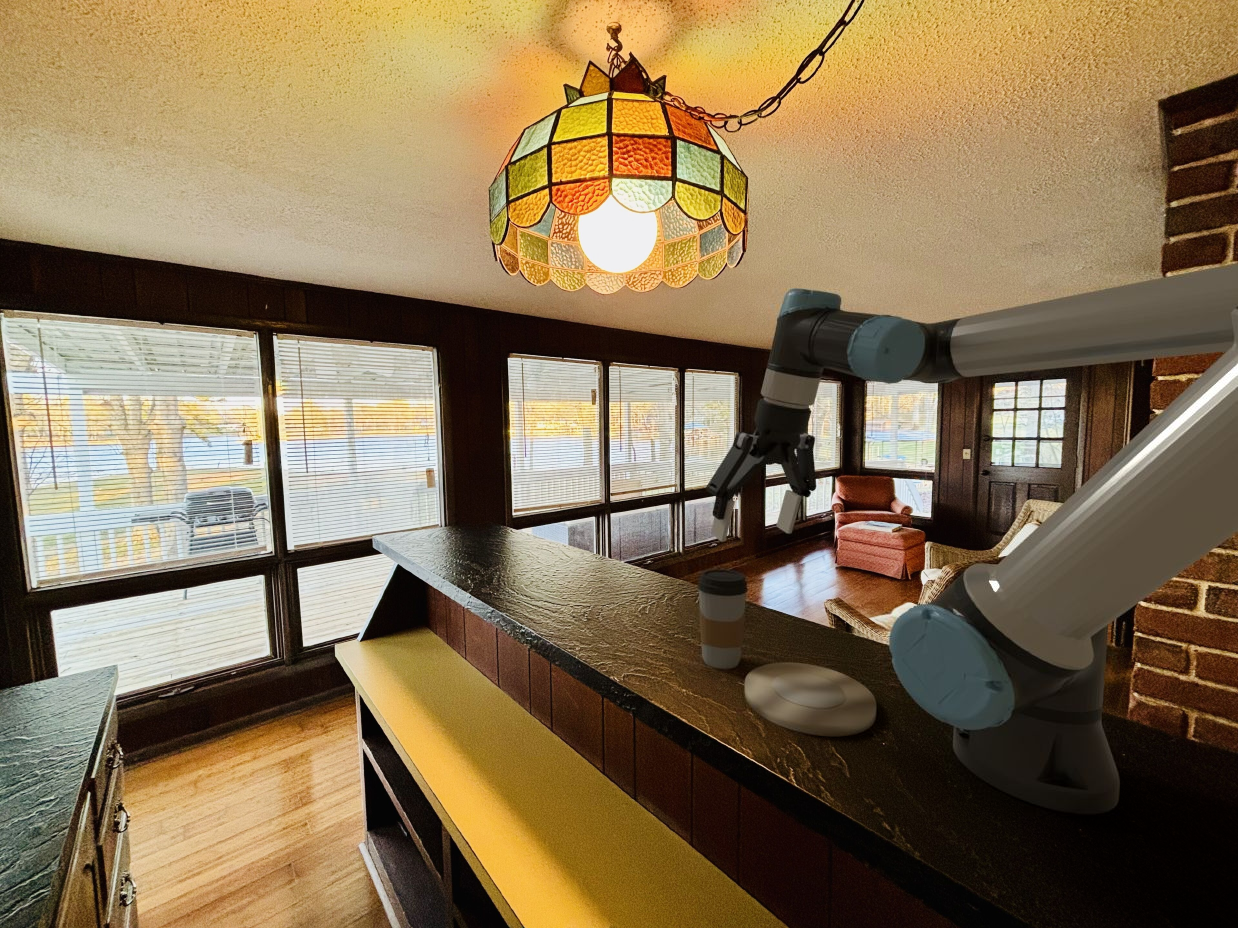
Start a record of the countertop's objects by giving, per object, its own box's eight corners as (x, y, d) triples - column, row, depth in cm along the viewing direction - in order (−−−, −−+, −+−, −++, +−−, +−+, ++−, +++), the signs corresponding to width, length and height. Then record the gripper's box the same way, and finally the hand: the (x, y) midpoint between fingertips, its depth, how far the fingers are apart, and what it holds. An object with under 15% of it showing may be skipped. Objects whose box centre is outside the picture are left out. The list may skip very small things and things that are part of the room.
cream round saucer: (904, 714, 72) (904, 702, 72) (813, 751, 64) (814, 738, 63) (803, 662, 88) (803, 653, 88) (719, 687, 79) (719, 676, 79)
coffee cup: (747, 674, 83) (749, 583, 82) (695, 669, 85) (696, 580, 84) (745, 653, 92) (746, 569, 91) (697, 648, 93) (699, 567, 92)
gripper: (825, 399, 84) (792, 517, 90) (701, 392, 72) (673, 528, 78) (864, 411, 77) (825, 537, 84) (735, 406, 66) (702, 553, 72)
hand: (752, 533), depth 81 cm, fingers open, 13 cm apart
